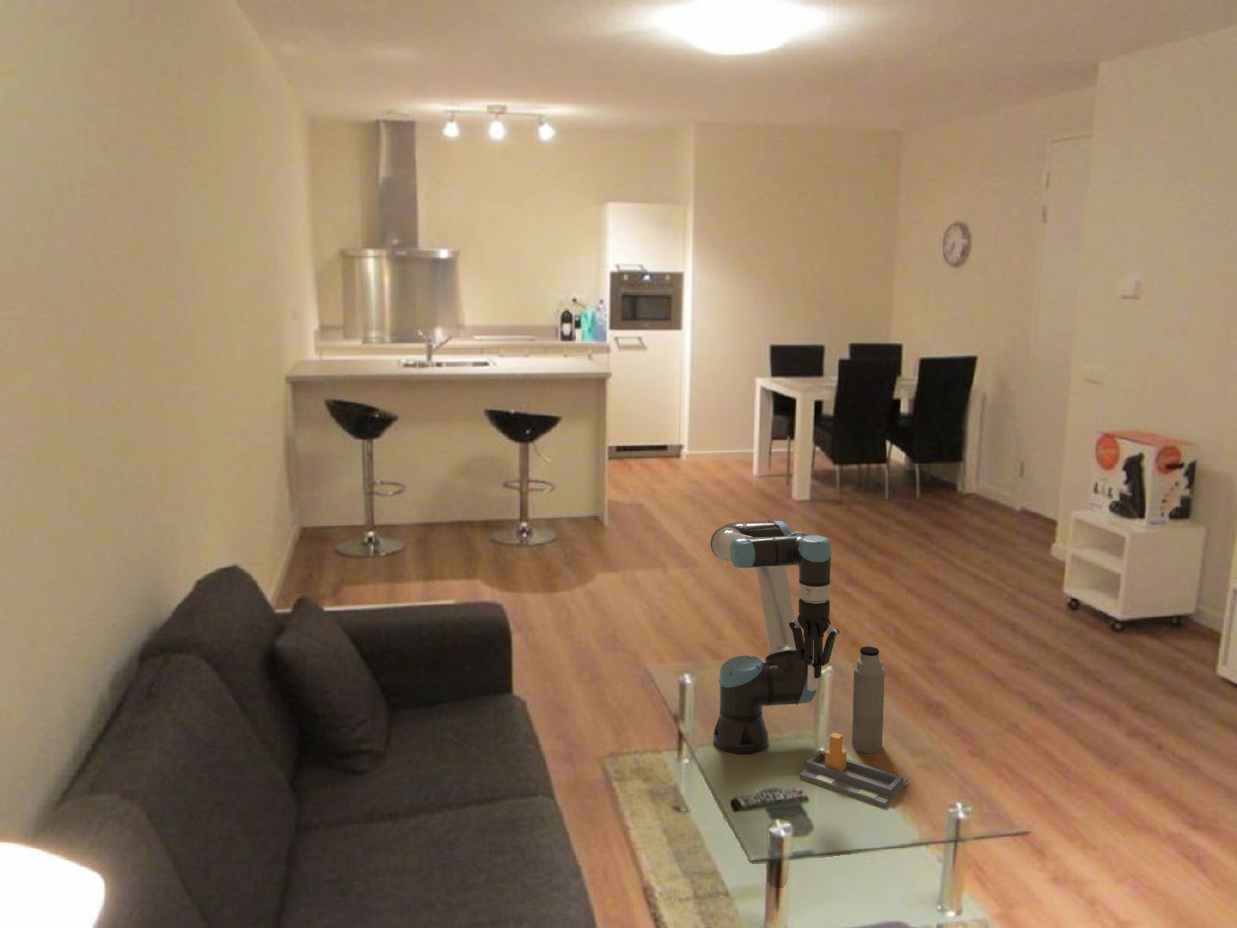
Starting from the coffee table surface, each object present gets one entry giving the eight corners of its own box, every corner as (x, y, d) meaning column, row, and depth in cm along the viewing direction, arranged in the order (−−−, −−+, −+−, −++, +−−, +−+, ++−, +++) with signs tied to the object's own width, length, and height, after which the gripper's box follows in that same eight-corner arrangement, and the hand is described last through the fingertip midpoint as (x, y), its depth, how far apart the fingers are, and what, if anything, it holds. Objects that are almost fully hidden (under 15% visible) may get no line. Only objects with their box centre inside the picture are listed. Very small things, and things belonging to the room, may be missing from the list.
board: (799, 778, 243) (799, 766, 242) (824, 756, 254) (825, 745, 253) (884, 807, 229) (885, 795, 228) (907, 783, 239) (908, 771, 239)
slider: (824, 770, 244) (825, 736, 242) (831, 763, 247) (832, 730, 245) (839, 774, 241) (839, 740, 239) (846, 768, 244) (846, 734, 242)
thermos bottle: (881, 739, 262) (884, 644, 256) (883, 754, 254) (886, 655, 249) (851, 737, 263) (853, 642, 258) (852, 751, 256) (855, 654, 250)
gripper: (783, 597, 235) (782, 687, 239) (831, 608, 227) (829, 700, 231) (798, 589, 241) (797, 677, 245) (845, 599, 232) (843, 690, 237)
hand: (812, 688), depth 238 cm, fingers closed
